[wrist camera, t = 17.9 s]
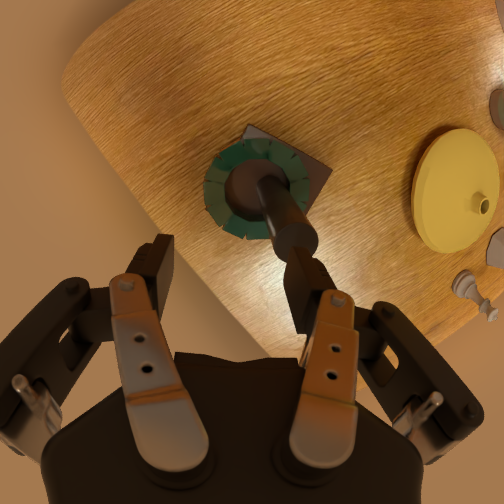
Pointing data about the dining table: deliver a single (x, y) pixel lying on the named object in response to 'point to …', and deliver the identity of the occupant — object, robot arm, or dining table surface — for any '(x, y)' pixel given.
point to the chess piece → (473, 293)
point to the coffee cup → (497, 108)
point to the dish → (500, 11)
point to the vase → (454, 190)
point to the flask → (496, 250)
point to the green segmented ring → (237, 155)
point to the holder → (276, 197)
